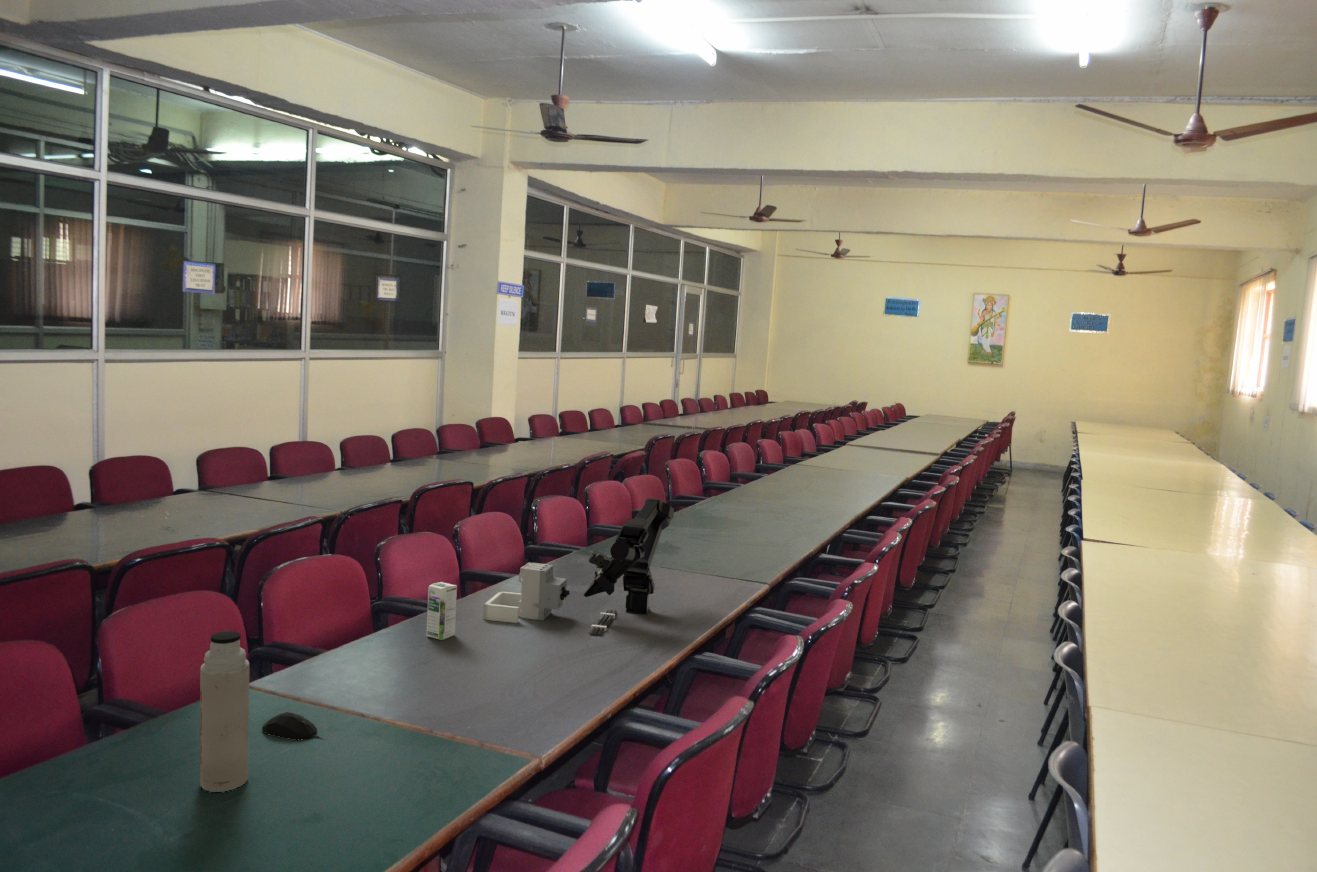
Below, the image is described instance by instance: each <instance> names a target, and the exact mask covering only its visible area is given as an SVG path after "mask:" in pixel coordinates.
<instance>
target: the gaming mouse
mask: <svg viewBox="0 0 1317 872" xmlns="http://www.w3.org/2000/svg"><path fill="white" fill-rule="evenodd" d="M261 731H262V732H263V733H264V732H266V733H267V734H266V733H265V734H266V735H268V734H270V735H275V736H280V737H284V738H283V739H285V738H290V739H296V740H295V741H305V740H304V739H306V740H309V739H312V738H314V737H315V738H314V739H317V738H318V739H319V738H322V737H320V735H317V733H318V729H317V727H316V726H315V724H314V723H313V722H311V721H310V720H308V719H307V718H305V717H304V716H302V715H301V714H298V713H297V714H296V713H295V712H294V713H293V712H289V711H287V712H283V713H279V714H277V715H275V716H273V717H272V718H270V719H269V720H267V721H266V722H265V723H264V724H263V725H262V726H261ZM270 735H269V736H270ZM275 736H274V737H275ZM280 737H279V738H280ZM311 737H312V738H311ZM308 738H309V739H308ZM290 739H289V740H290ZM298 739H299V740H298ZM301 739H303V740H301Z"/></svg>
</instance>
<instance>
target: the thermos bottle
mask: <svg viewBox="0 0 1317 872" xmlns="http://www.w3.org/2000/svg"><path fill="white" fill-rule="evenodd" d="M240 639H241V632H239V631H234V630H223V631H219V632H215V633H213V634H212V635H210V644H209V650H207V651H206V652H205V654H204V658H203V661H204V663H202V664H201V666H200V668H199V669H200V672H199V674H200V676H199V679H200V681H199V684H200V685H199V686H200V687H199V688H200V689H199V690H200V692H199V694H200V697H199V699H200V701H199V708H200V709H199V710H200V712H199V719H200V720H199V727H200V728H199V730H200V731H199V739H200V740H199V772H200V773H199V786H201V787H202V788H203V789H205V790H210V791H223V790H228V789H234V788H237V787H239V786H241V785H243V784H244V783H245V782H246V781H247V780H248V781H249V766H250V765H249V758H250V757H249V755H250V754H249V751H250V750H249V747H250V746H249V727H250V662H249V660H248V659H247V656H246V655H247V652H246V650H245V649H244V648H242V647H241V641H240ZM248 781H247V782H248ZM243 786H244V785H243ZM201 787H200V788H201Z"/></svg>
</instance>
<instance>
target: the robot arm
mask: <svg viewBox="0 0 1317 872" xmlns="http://www.w3.org/2000/svg"><path fill="white" fill-rule="evenodd" d="M674 515H675V511H674V508H673V507H672V505H671V504H668V503H666V502H665V501H663V500H661V499H659V498H651V497H649V498H646V499H645V502H644V504H643V506H642V508H641V509H640V510H639V512H638V513H637V514H636V516H635V517H634V518H632V519H629V520H627V521H626V522H624V524H623V525H622V526H621V527H620V529H619V532H618V534H617V536H616V538H615V542H614V543H613V544H612V545H611V547H610V551H609V552H610V555H611V556H607V555H605V554H604V553H602V552H600V551H598V550H597V549H592V551H591V553H590V555H589V557H588V562H589V563H590V564H591V565H595V567H596V569H599V571H597V570H595V571H594V579H593V580H592V582H591V583H590V585H589V586H588V587H587V588H586V590H585V591H584V593H583V596H584V597H585V598H588V597H591V596H595V595H597V594H602V593H606V594H607V595H608V596H611V595H612V594H614V593H615V585H616V583H617V582H618V579H620V578H621V577H622V585H623V592H627V594H626V596H625V609H626V610H625V612H626V613H632V614H633V613H634V614H642V615H647V614H648V612H649V610H650V606H649V602H650V595H653V594H654V593H655V592H654V591H655V586H656V585H655V581H654V579H653V575H652V571H651V568H650V567H651V564H652V561H653V558H654V554H655V552H656V549H657V546H658V543H659V540H660V537H661V536H662V535H661V534H662V531H664V530H665V529H666V528H667V527H669V526H670V524H671V521H672V520H673V519H674Z"/></svg>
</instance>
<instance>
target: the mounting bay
mask: <svg viewBox="0 0 1317 872" xmlns="http://www.w3.org/2000/svg"><path fill="white" fill-rule="evenodd" d="M520 600H521V592H511V591H503V590H502V591H501V590H500V591H498V592H497V593H496V594H495V595H494V596H492V597H491V598H490V599H488V600H487V601H486V602H485V603H483V616H482V618H483V619H482V620H487V621H495V622H503V623H514V624H518V623H519V617H518V613H519V607H518V602H519V601H520Z"/></svg>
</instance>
